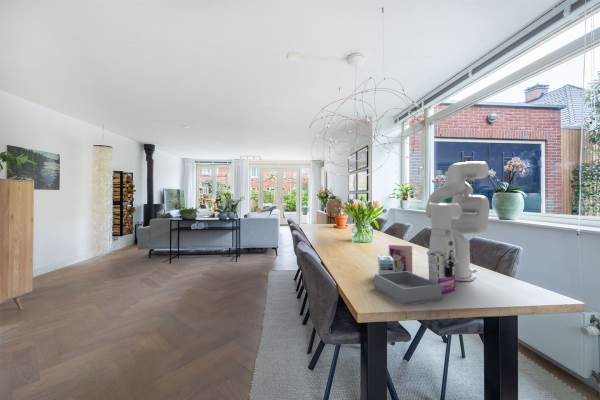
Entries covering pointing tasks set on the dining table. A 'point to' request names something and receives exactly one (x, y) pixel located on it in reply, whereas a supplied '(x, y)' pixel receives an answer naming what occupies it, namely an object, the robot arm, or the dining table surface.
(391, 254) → the pink printed box
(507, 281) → the dining table surface
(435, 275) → the candy bar box
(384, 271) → the light bulb box
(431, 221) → the robot arm
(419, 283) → the tray
